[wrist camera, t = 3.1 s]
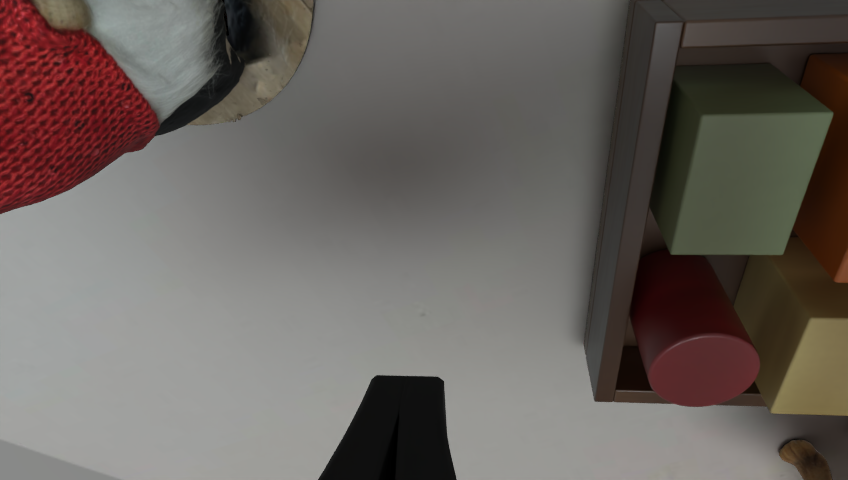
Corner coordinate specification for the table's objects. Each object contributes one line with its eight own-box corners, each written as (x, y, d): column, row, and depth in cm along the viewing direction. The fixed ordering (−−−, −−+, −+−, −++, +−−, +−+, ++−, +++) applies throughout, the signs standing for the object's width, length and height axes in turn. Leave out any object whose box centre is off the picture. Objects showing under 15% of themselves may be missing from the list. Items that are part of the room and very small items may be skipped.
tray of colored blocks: (985, -21, 13) (1181, 33, 10) (817, 349, 20) (894, 466, 16) (629, -6, 14) (681, 50, 10) (583, 345, 21) (604, 455, 17)
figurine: (285, -451, 8) (66, 419, 7) (349, -50, 18) (260, 333, 17) (-326, -606, 8) (-618, 278, 7) (82, -112, 18) (-20, 274, 17)
